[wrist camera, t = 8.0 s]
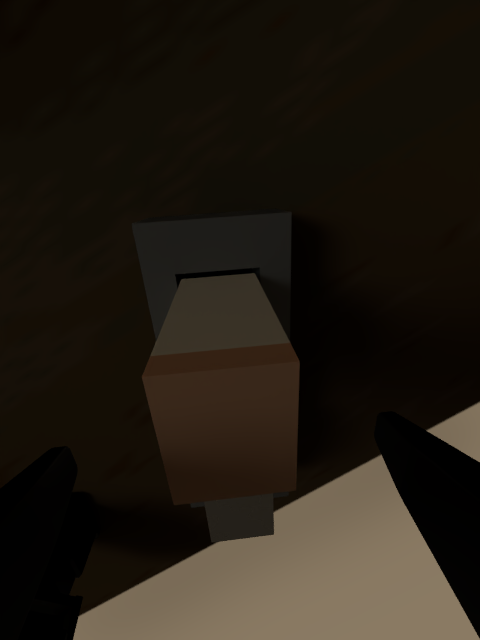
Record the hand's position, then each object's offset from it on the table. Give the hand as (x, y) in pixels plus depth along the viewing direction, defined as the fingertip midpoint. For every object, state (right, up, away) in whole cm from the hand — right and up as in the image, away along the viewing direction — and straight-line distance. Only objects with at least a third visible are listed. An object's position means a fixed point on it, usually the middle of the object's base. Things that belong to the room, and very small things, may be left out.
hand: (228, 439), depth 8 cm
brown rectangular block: (-1, +4, +8) cm, 9 cm away
